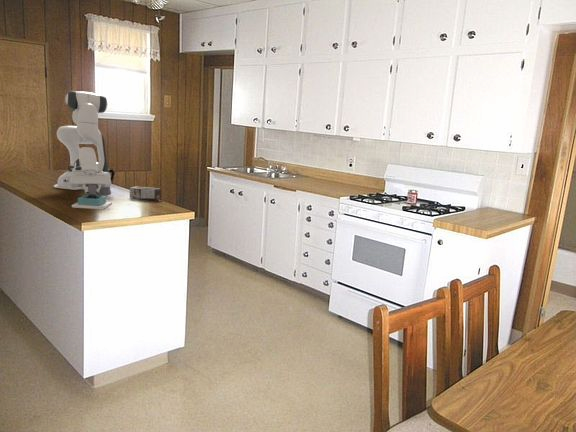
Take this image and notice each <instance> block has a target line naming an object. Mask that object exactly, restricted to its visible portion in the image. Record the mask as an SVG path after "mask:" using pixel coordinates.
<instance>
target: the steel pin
mask: <svg viewBox="0 0 576 432" xmlns="http://www.w3.org/2000/svg"><path fill="white" fill-rule="evenodd" d="M88 191H89V192H88V193H87V195H88V198H93V199H96V195H97V194H96V184H88Z"/></svg>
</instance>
